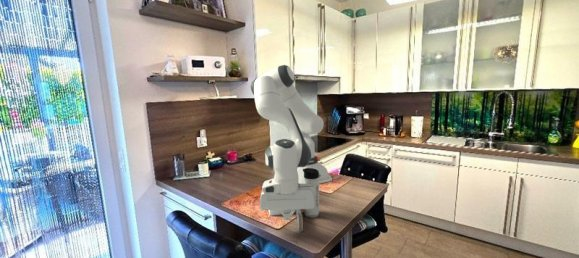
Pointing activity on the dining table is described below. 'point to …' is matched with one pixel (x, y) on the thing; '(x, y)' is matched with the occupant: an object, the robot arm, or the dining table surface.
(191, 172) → the dining table surface
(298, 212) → the side door
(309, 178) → the travel mug
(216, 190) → the dining table surface
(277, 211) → the white box with hole
